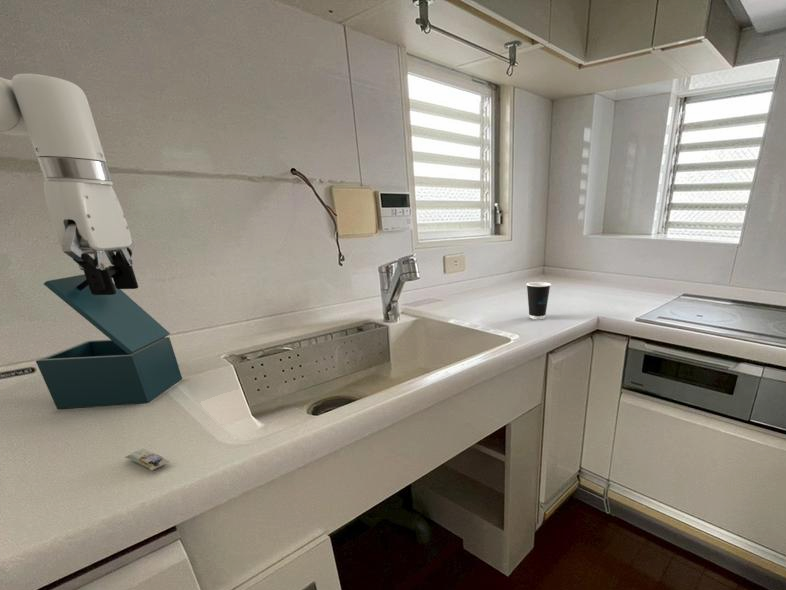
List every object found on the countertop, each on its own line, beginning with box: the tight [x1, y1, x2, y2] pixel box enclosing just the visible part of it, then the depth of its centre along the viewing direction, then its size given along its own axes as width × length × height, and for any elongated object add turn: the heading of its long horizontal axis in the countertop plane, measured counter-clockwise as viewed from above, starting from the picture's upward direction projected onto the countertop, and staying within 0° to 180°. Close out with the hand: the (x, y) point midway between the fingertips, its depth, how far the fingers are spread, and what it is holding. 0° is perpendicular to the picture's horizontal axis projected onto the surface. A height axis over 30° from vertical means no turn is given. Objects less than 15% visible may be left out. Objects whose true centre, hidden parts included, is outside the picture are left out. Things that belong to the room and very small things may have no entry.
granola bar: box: [124, 448, 171, 471], centre depth 53 cm, size 7×2×1 cm, turn 64°
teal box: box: [35, 336, 183, 410], centre depth 73 cm, size 14×12×9 cm
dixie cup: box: [525, 281, 552, 320], centre depth 130 cm, size 8×8×11 cm
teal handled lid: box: [43, 265, 171, 354], centre depth 70 cm, size 14×12×6 cm
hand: (116, 290), depth 69 cm, fingers closed on teal handled lid, 5 cm apart
